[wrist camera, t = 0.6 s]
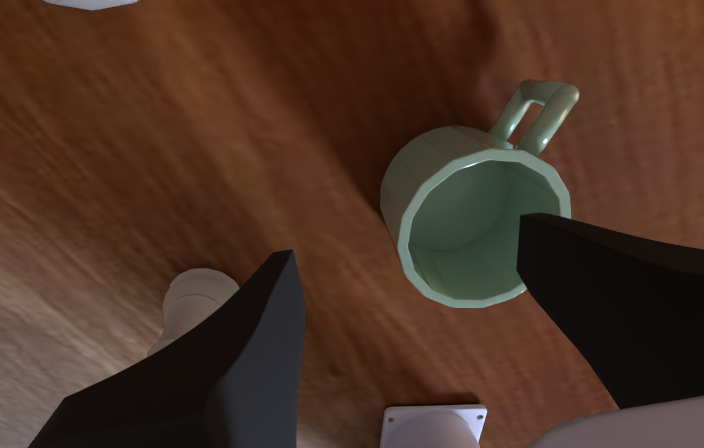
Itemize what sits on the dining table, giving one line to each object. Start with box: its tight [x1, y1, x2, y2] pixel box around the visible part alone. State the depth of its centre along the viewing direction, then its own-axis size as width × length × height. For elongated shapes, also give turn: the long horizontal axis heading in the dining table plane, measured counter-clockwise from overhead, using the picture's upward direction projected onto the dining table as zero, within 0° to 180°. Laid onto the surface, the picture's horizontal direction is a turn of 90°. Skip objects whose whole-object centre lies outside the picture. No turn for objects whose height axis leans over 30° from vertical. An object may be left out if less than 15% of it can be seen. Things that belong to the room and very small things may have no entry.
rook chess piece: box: [147, 268, 240, 357], centre depth 19 cm, size 4×4×8 cm
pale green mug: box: [380, 79, 579, 308], centre depth 18 cm, size 11×8×6 cm
